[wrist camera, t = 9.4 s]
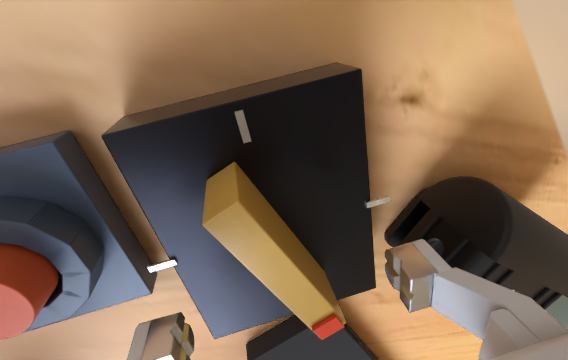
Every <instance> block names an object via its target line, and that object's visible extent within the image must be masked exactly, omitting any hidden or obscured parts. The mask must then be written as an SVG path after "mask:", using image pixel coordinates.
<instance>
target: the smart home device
mask: <svg viewBox="0 0 568 360" xmlns="http://www.w3.org/2000/svg"><path fill="white" fill-rule="evenodd" d="M246 349H247V360H379V359H378V358H377V357H376V356H375V355H374V354H373V353H372V351H371V350H370V349H369V348H368V347H367V346H366V345H365V344H364V342H363V341H362V340H361V339H360V338H359V337H358V336H357V334H356V333H355V332H354V331H353V330H352V329H351V328H350V326H349V325H348V324H347V323H345V324H344V328H342V329H340V330H339V331H337V332H335V333H334V334H332V335H330V336H328V337H327V338H325V339H323V340H321V339H320V338H319V337H318V336H317V335H316V334H315V333H314V332H313V331H312V330H311V329H310V328H309V327H308V326H307V325H306V324H305V323H304V322H303V321H302V320H300V319H299V318H298V317H297V316H296V315H295V316H293V317H292V318H290V319H288V320H287V321H285V322H283V323H281V324H280V325H278V326H276V327H275V328H273V329H271V330H270V331H268V332H266V333H265V334H263V335H261V336H260V337H258V338H256V339H254V340H253V341H251V342H249V343H248V344H247V345H246Z"/></svg>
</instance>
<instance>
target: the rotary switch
mask: <svg viewBox="0 0 568 360" xmlns="http://www.w3.org/2000/svg"><path fill="white" fill-rule="evenodd" d="M102 139H103V140H104V142H105V144H106V146H107V148H108V149H109V151H110V153H111V155H112V157H113V158H114V160H115V162H116V164H117V166H118V167H119V169H120V171H121V173H122V174H123V176H124V178H125V180H126V182H127V183H128V185H129V187H130V189H131V191H132V192H133V194H134V196H135V198H136V200H137V201H138V203H139V205H140V207H141V208H142V210H143V212H144V214H145V216H146V217H147V219H148V221H149V223H150V225H151V226H152V228H153V230H154V232H155V234H156V235H157V237H158V239H159V241H160V243H161V244H162V246H163V248H164V250H165V251H166V253H167V255H168V257H169V260H166V261H162V262H159V263H155V264H152V265H149V266H148V267H147V268H148V270H149V271H150V272H154V271H157V270H161V269H164V268H167V267H171V266H174V268H175V269H176V271H177V273H178V275H179V277H180V278H181V280H182V282H183V284H184V285H185V287H186V289H187V291H188V293H189V294H190V296H191V298H192V300H193V302H194V303H195V305H196V307H197V309H198V311H199V312H200V314H201V316H202V318H203V319H204V321H205V323H206V325H207V327H208V328H209V330H210V332H211V334H212V336H213V337H214V339H217V338H220V337H223V336H227V335H230V334H233V333H236V332H239V331H242V330H245V329H249V328H252V327H255V326H258V325H261V324H264V323H267V322H270V321H274V320H277V319H280V318H283V317H286V316H289V315H292V314H294V313H293V312H292V311H291V310H290V309H289V308H288V307H287V306H286V305H285V304H284V303H283V302H282V301H281V300H280V299H279V298H278V297H276V296H275V295H274V294H273V293H272V292H271V291H270V290H269V289H268V288H267V287H266V286H265V285H264V284H263V283H262V282H261V281H260V280H259V279H258V278H257V277H256V276H255V275H254V274H253V273H251V272H250V271H249V270H248V269H247V268H246V267H245V266H244V265H243V264H242V263H241V262H240V261H239V260H238V259H237V258H236V257H235V256H234V255H233V254H232V253H231V252H230V251H229V250H227V249H226V248H225V247H224V246H223V245H222V244H221V243H220V242H219V241H218V240H217V239H216V238H215V237H214V236H213V235H212V234H211V233H210V232H209V231H208V230H207V229H206V228H205V227H203V225H202V223H203V212H204V202H205V192H206V182H207V180H208V179H209V178H211V177H212V176H214V175H215V174H217V173H218V172H220V171H221V170H223V169H224V168H225V167H227V166H228V165H230V164H231V163H233V162H236V163H237V165H238V166H239V167H240V168H241V170H242V171H243V172H244V173H245V174H246V176H247V177H248V178H249V179H250V181H251V182H252V183H253V184H254V186H255V187H256V188H257V189H258V190H259V192H260V193H261V194H262V195H263V197H264V198H265V199H266V200H267V202H268V203H269V204H270V205H271V206H272V208H273V209H274V210H275V211H276V213H277V214H278V215H279V216H280V218H281V219H282V220H283V221H284V222H285V224H286V225H287V226H288V227H289V229H290V230H291V231H292V232H293V233H294V235H295V236H296V237H297V238H298V240H299V241H300V242H301V243H302V245H303V246H304V247H305V248H306V249H307V251H308V252H309V253H310V254H311V256H312V257H313V258H314V259H315V261H316V262H317V263H318V264H319V265H320V267H321V268H322V269H323V270H324V272H325V274H326V276H327V279H328V281H329V283H330V285H331V288H332V290H333V292H334V295H335V297H336V299H337V300H339V299H343V298H346V297H349V296H352V295H355V294H358V293H361V292H365V291H368V290H371V289H374V288H376V281H375V266H374V251H373V235H372V220H371V207H373V206H377V205H380V204H383V203H387V202H390V201H391V195H386V196H383V197H380V198H376V199H373V200H370V190H369V175H368V160H367V145H366V130H365V115H364V100H363V85H362V70H361V69H359V68H355V67H352V66H348V65H344V64H340V63H332V64H328V65H325V66H321V67H317V68H313V69H309V70H305V71H301V72H297V73H293V74H289V75H285V76H281V77H277V78H273V79H269V80H265V81H261V82H257V83H254V84H250V85H246V86H242V87H238V88H234V89H230V90H226V91H222V92H218V93H214V94H210V95H206V96H202V97H198V98H194V99H190V100H187V101H183V102H179V103H175V104H171V105H167V106H163V107H159V108H155V109H151V110H147V111H143V112H139V113H135V114H131V115H127V116H124V117H123V118H121V119H120V120H119V121H118V122H117V123H116V124H114V125H113V126H112V127H111V128H110V129H109V130H107V131H106V132H105V133H104V134H103V135H102Z"/></svg>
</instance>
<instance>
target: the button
mask: <svg viewBox="0 0 568 360" xmlns="http://www.w3.org/2000/svg"><path fill="white" fill-rule="evenodd" d="M57 283H58V272H57V269H56V267H55V266H54V265H53V264H52V263H51V261H50V260H49V259H48V258H47V257H45V256H43V255H40V254H38V253H36V252H34V251H32V250H29V249H27V248H25V247H23V246H21V245H14V244H4V243H0V340H2V339H7V338H11V337H13V336H16V335H18V334H20V333H22V332H24V331H25V330H26V329H28V328H29V327H30V326H31V325H32V323H33V322H34V320H35V319H36V317H37V316H38V314H39V312H40V311H41V309H42V308H43V306H44V305H45V303H46V302H47V300H48V299H49V297H50V296H51V294H52V292H53V291H54V289H55V288H56V286H57Z"/></svg>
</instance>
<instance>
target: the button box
mask: <svg viewBox="0 0 568 360" xmlns="http://www.w3.org/2000/svg"><path fill="white" fill-rule="evenodd" d="M0 243H4V244H14V245H21V246H23V247H25V248H27V249H29V250H32V251H34V252H36V253H38V254H40V255H43V256H45V257H47V258H48V259H49V260H50V261H51V263H52V264H53V265H54V266H55V267H56V269H57V272H58V283H57V286H56V288H55V289H54V291H53V292H52V294H51V296H50V297H49V299H48V300H47V302H46V303H45V305H44V306H43V308H42V309H41V311H40V312H39V314H38V316H37V317H36V319H35V320H34V322H33V323H32V325H31V326H30V327H29V328H28V329H26V330H25V331H24V332H27V331H30V330H33V329H37V328H40V327H43V326H47V325H50V324H53V323H57V322H60V321H63V320H67V319H70V318H73V317H77V316H80V315H83V314H86V313H90V312H93V311H96V310H100V309H103V308H106V307H110V306H113V305H116V304H120V303H123V302H126V301H130V300H133V299H136V298H139V297H143V296H146V295H149V294H152V292H153V288H154V284H155V281H156V277H157V272H156V271H154V272H150V271H149V270H148V268H147V267H148V266H149V265H152V264H151V262H150V260H149V259H148V257H147V255H146V254H145V252H144V250H143V249H142V247H141V246H140V244H139V242H138V241H137V239H136V237H135V236H134V234H133V232H132V231H131V229H130V227H129V226H128V224H127V223H126V221H125V219H124V218H123V216H122V214H121V213H120V211H119V209H118V208H117V206H116V204H115V203H114V201H113V200H112V198H111V196H110V195H109V193H108V191H107V190H106V188H105V186H104V185H103V183H102V181H101V180H100V178H99V177H98V175H97V173H96V172H95V170H94V168H93V167H92V165H91V163H90V162H89V160H88V159H87V157H86V155H85V154H84V152H83V150H82V149H81V147H80V145H79V144H78V142H77V140H76V139H75V137H74V136H73V134H72V132H71V131H64V132H60V133H56V134H53V135H49V136H45V137H41V138H37V139H33V140H29V141H25V142H21V143H17V144H13V145H9V146H5V147H1V148H0ZM24 332H22V333H24Z"/></svg>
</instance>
